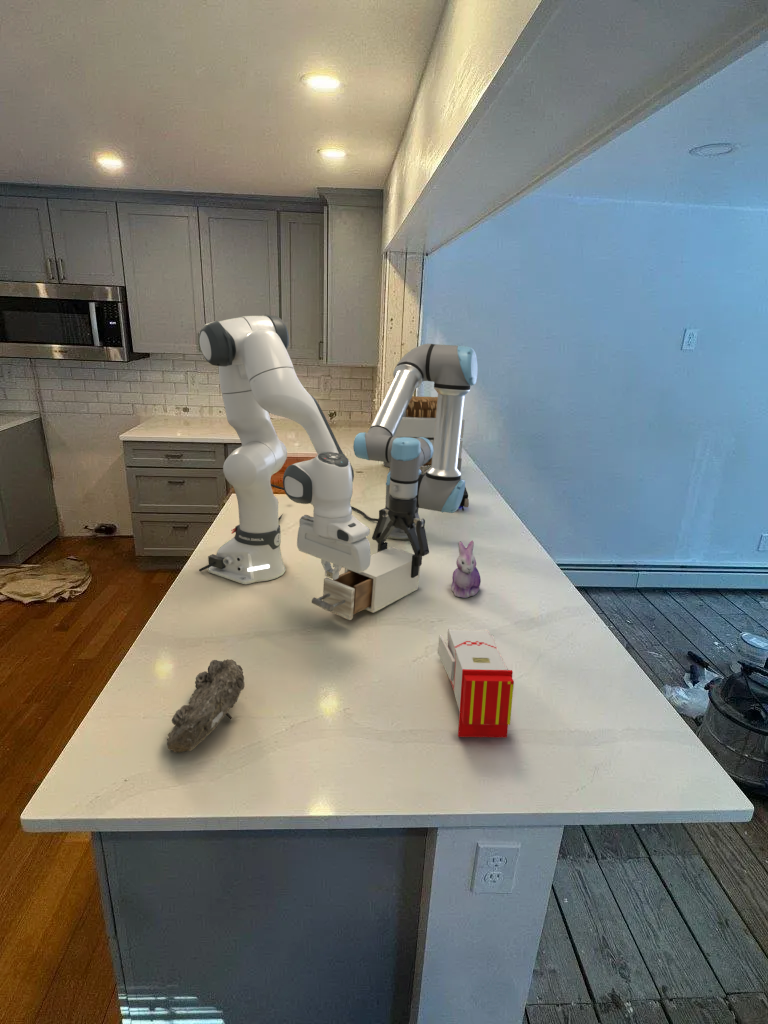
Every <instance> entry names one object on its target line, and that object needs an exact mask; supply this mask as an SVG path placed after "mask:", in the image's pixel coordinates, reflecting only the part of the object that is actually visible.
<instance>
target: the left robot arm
mask: <svg viewBox="0 0 768 1024" xmlns="http://www.w3.org/2000/svg"><path fill="white" fill-rule="evenodd" d="M198 336H199V347H200V350H201V351H200V352H201V353H202V355H203V358H204V359H205V361H206V362H208V363H209V364H210V365H211V366H214V367H218V379H219V385H220V391H221V396H222V401H223V406H224V411H225V416H226V421H227V423H228V424H229V426H230V427H232V428H233V429H234V430H235V432H236V434H237V437H238V438H239V441H240V442H241V445H240V446H239V447H237V448H235V449H234V450H233V451H232V452H231V453H230V454H229V455H228V456H227V458H225V460H224V462H223V466H222V471H223V475H224V478H225V480H226V481H227V483H229V484H230V485H231V486H232V487H233V490H234V493H235V496H236V500H237V506H238V519H239V520H238V521H239V522H238V523H239V524H237V525H236V526H235V527H234V528H233V529H231V530H230V531H231V535H232V534H234V533H235V534H234V536H233V537H232V538H231V539H229V540H228V541H226V542H224V543H223V544H222V545H221V546H220V547H219V548H218V549H217V551H216V554H214V553H212V554H210V555H208V556H207V559H208V560H207V561H208V564H207V565H205V566H203V567H201V568H199V569H198V572H202V571H205V570H207V572H208V573H209V574H213V575H215V576H218V577H221V578H225V579H227V580H230V581H233V582H236V583H239V584H242V585H250V584H254V583H257V582H258V583H259V582H267V581H271V580H275V579H277V578H280V577H281V576H283V575H284V573H286V566H285V564H284V560H283V555H282V550H281V542H282V541H281V538H282V537H281V535H282V534H281V533H282V532H281V525H280V520H279V517H280V516H279V500H278V498H277V496H276V495H274V492H273V488H272V486H271V484H272V483H271V479H272V476H273V475H275V474H276V473H278V472H279V471H280V470H282V468H283V466H284V464H286V461H287V459H288V450H287V446H286V445H285V443H284V442H283V441H282V440H281V439H280V438H279V436H278V434H277V432H276V429H275V427H274V424H273V422H272V419H271V416H270V414H271V415H275V416H277V417H282V418H284V419H285V418H286V419H288V420H291V421H293V422H295V423H297V424H299V425H300V426H301V427H302V428H303V429H304V430H305V433H307V436H308V438H309V440H310V442H311V444H312V446H313V449H314V451H315V452H316V454H317V455H316V456H315V457H313V458H311V459H308V460H302V461H299V462H295V463H292V464H290V465H287V467H286V469H285V471H284V473H283V477H282V488H284V490H283V491H284V493H285V495H286V496H287V497H288V499H289V500H291V501H292V502H294V503H296V504H303V505H307V504H308V505H309V504H310V505H312V506H313V513H312V515H313V516H310V515H309V514H304V515H302V516H301V517H300V518H299V521H298V522H299V527H298V531H297V537H296V547H297V549H298V551H299V552H301V553H304V554H306V555H309V556H312V557H315V558H317V559H320V564H321V565H322V567H323V570H324V576H325V578H330V579H332V580H333V579H334V580H336V579H338V578H339V575H340V571H341V570H342V568H343V569H345V568H346V569H349V570H351V571H354V572H357V573H360V572H362V571H364V570H366V569H367V568H368V567H369V566H370V555H371V544H370V541H369V538H368V537H369V535H370V533H371V531H370V527H368V526H367V525H366V524H364V523H363V522H362V521H360V520H359V519H358V518H356V517H355V516H354V515H353V509H352V508H351V506H352V503H351V500H352V497H353V489H354V488H353V487H354V485H353V483H354V479H355V472H354V468H353V466H352V463H351V461H350V459H349V458H348V457H347V456H346V455H345V453H344V452H343V450H342V448H341V446H340V445H339V442H338V441H337V438H336V436H335V435H334V432H333V430H332V427H331V425H330V423H329V422H328V420H327V417H326V416H325V413H324V412H323V410H322V408H321V406H320V404H319V402H318V401H317V400H316V398H315V397H314V396H313V395H311V394H310V393H309V392H308V391H307V389H305V387H304V386H303V384H302V383H301V381H300V379H299V377H298V375H297V372H296V369H295V367H294V365H293V361H292V359H291V357H290V354H289V352H288V348H289V343H290V337H289V330H288V328H287V325H286V323H285V322H284V321H283V319H281V318H280V317H279V316H277V315H271V314H264V315H242V316H239V317H233V318H228V319H223V320H220V321H218V320H214V321H210V322H207V323H205V324H203V326H201V329H200V331H199V335H198Z"/></svg>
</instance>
